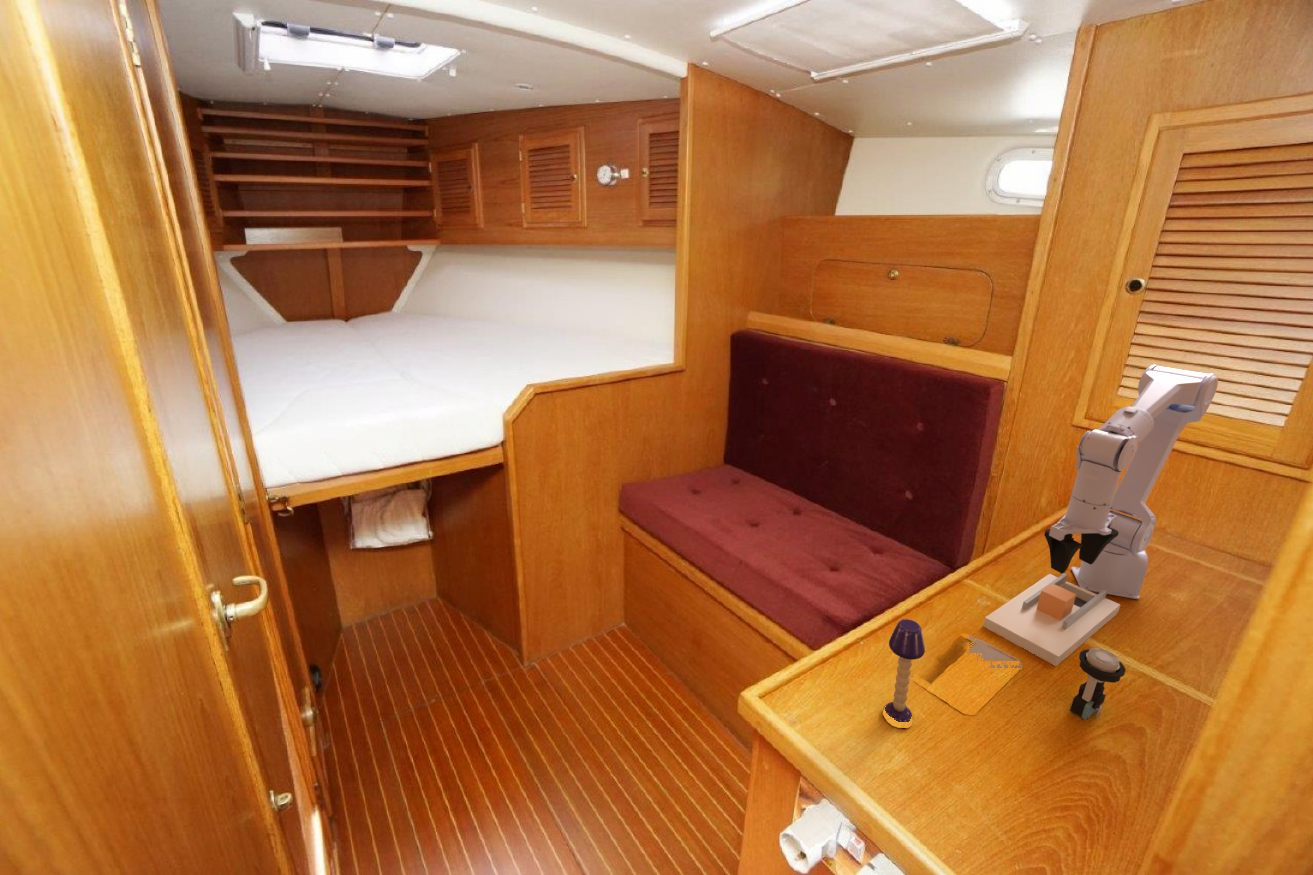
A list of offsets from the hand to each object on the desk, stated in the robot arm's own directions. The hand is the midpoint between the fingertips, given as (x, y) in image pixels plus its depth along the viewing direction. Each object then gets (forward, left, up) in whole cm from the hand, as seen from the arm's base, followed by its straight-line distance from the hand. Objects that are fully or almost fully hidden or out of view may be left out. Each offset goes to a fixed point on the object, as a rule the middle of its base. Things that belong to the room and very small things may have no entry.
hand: (1071, 565), depth 104 cm
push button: (+1, +25, -10) cm, 27 cm away
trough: (+2, +4, -10) cm, 11 cm away
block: (+2, +4, -8) cm, 9 cm away
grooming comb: (+17, +23, -10) cm, 31 cm away
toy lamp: (+28, +37, -10) cm, 48 cm away
